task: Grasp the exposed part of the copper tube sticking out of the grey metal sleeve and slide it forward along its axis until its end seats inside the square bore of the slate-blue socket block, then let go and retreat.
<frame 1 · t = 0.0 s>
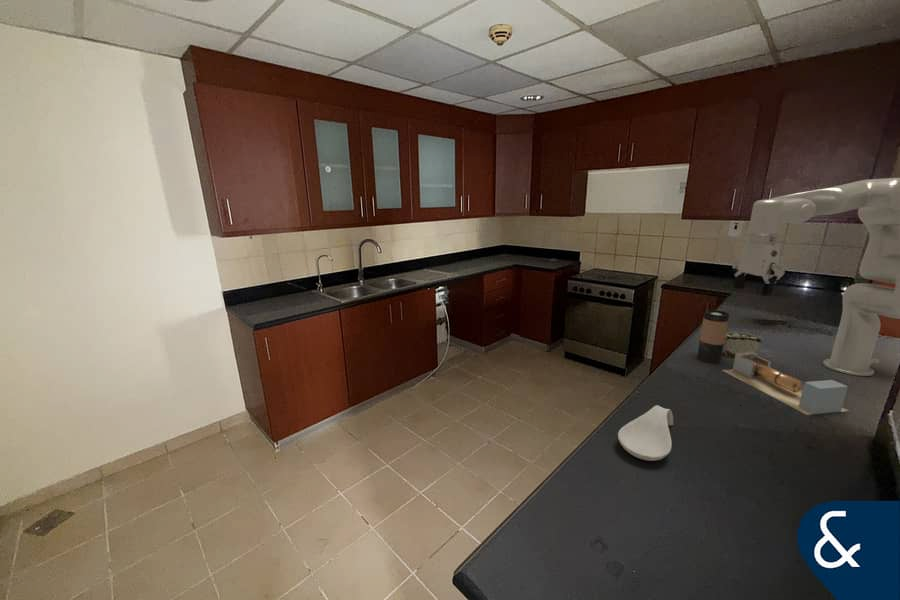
hand: (751, 291, 120), 31 cm above the counter, fingers open, 9 cm apart
socket: (819, 409, 106), resting on board
tube: (769, 373, 120), point 5 cm above the counter, slide at 0.0 cm
food container: (736, 358, 144), on the counter
board: (778, 390, 118), on the counter
travel mug: (708, 362, 140), on the counter
spoon rest: (649, 442, 95), on the counter
sleeve: (749, 374, 127), resting on board
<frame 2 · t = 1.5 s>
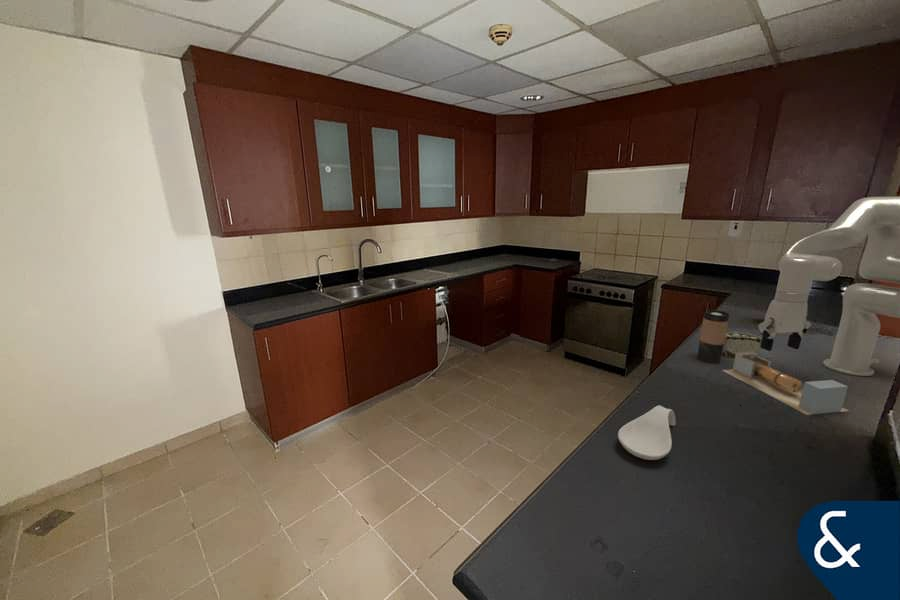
hand: (779, 348, 116), 14 cm above the counter, fingers open, 9 cm apart
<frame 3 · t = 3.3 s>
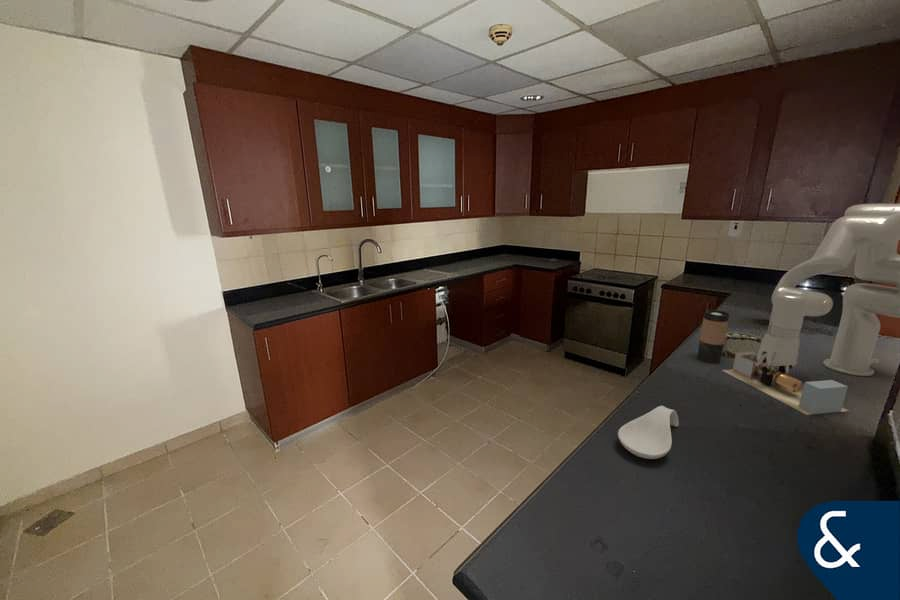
hand: (772, 383, 119), 2 cm above the counter, fingers closed on tube, 4 cm apart
tube: (769, 373, 120), point 5 cm above the counter, slide at 0.0 cm, touching gripper
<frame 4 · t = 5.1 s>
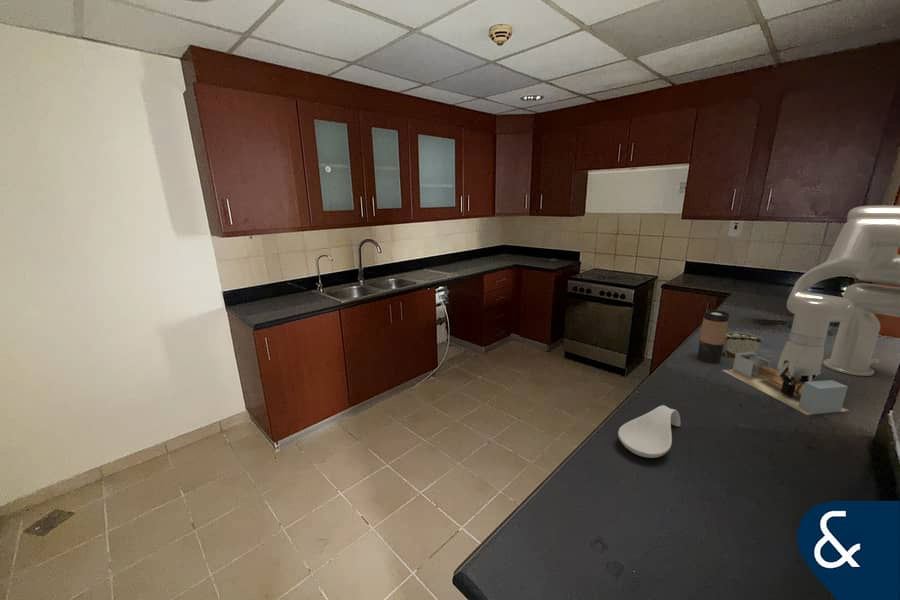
hand: (793, 393, 113), 2 cm above the counter, fingers closed on tube, 4 cm apart
tube: (790, 383, 113), point 5 cm above the counter, slide at 7.0 cm, touching gripper
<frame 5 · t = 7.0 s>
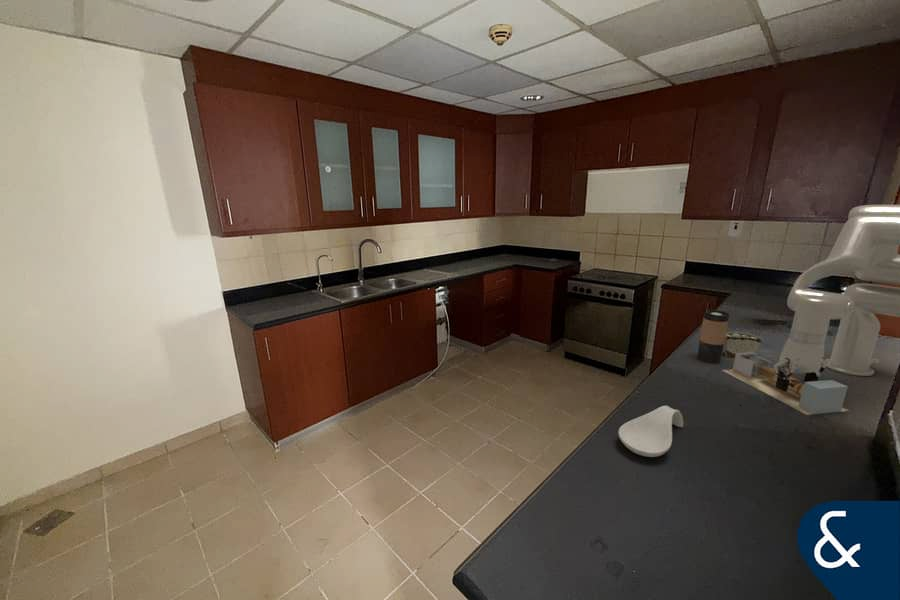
hand: (795, 388, 112), 4 cm above the counter, fingers open, 9 cm apart
tube: (790, 383, 113), point 5 cm above the counter, slide at 7.0 cm
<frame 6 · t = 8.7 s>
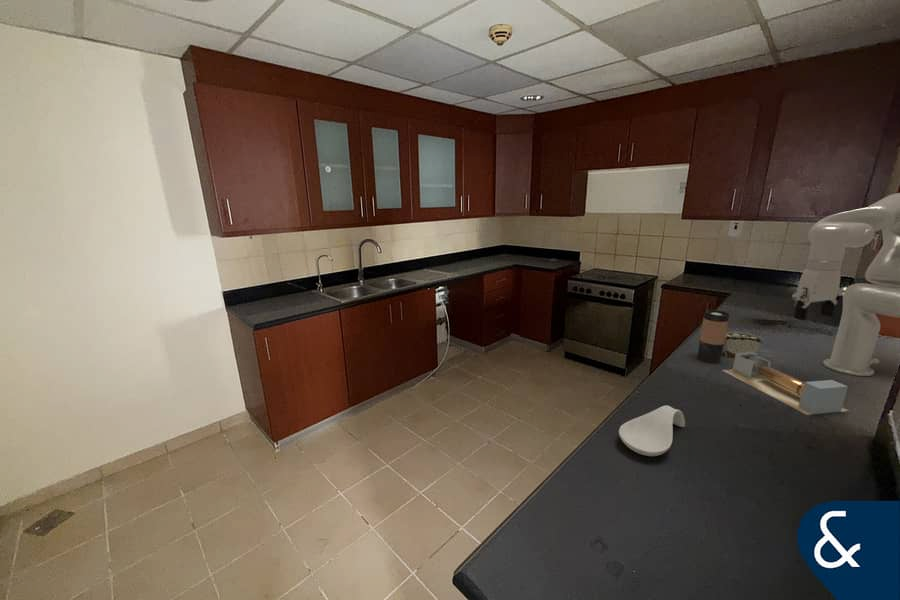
hand: (813, 317, 118), 23 cm above the counter, fingers open, 9 cm apart
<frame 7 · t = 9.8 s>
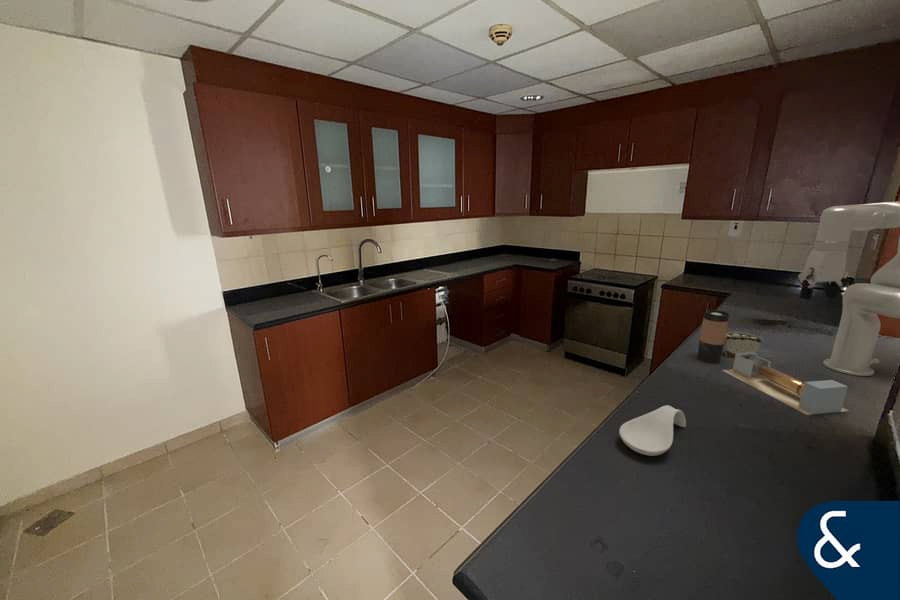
hand: (818, 298, 121), 28 cm above the counter, fingers open, 9 cm apart
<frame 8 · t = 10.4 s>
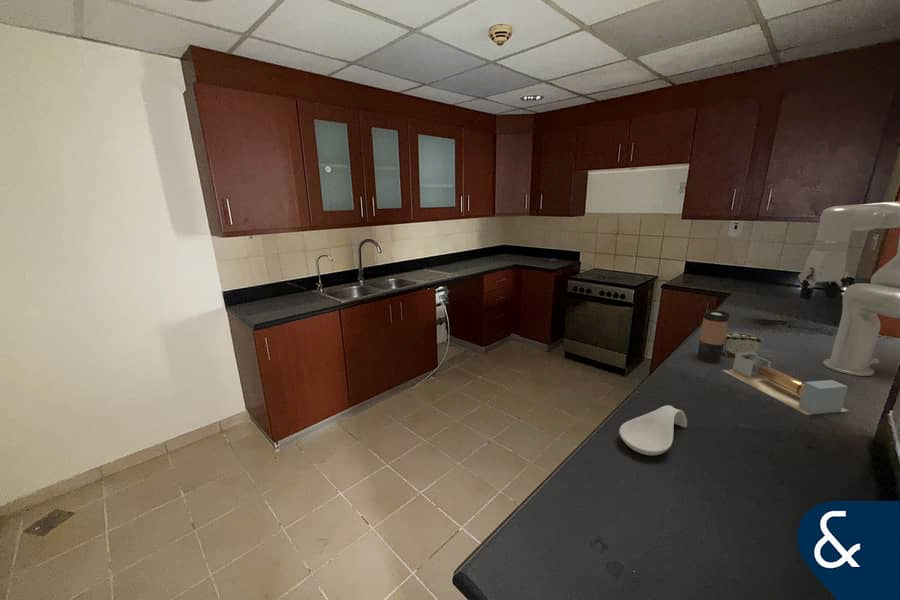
hand: (818, 298, 121), 28 cm above the counter, fingers open, 9 cm apart
at the end: tube slide at 7.0 cm; the gripper is holding nothing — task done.
